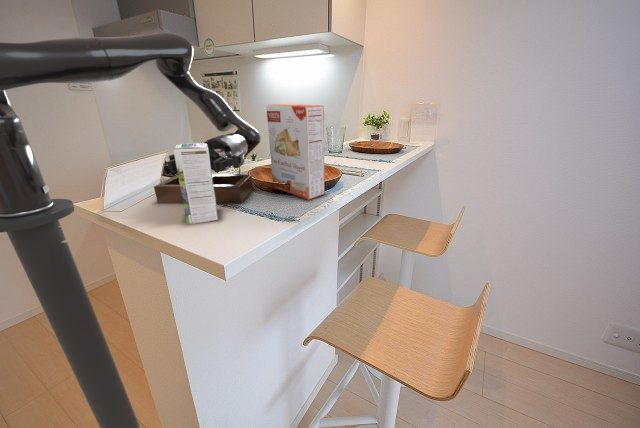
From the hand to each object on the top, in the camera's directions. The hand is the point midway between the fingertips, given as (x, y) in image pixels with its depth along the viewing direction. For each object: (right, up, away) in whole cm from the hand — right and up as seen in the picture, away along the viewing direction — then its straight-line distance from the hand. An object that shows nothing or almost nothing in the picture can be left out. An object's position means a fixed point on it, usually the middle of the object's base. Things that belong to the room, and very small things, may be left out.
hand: (193, 167), depth 54 cm
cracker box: (+18, -3, +19) cm, 27 cm away
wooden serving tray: (-4, -4, +17) cm, 18 cm away
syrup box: (0, -10, +4) cm, 11 cm away
